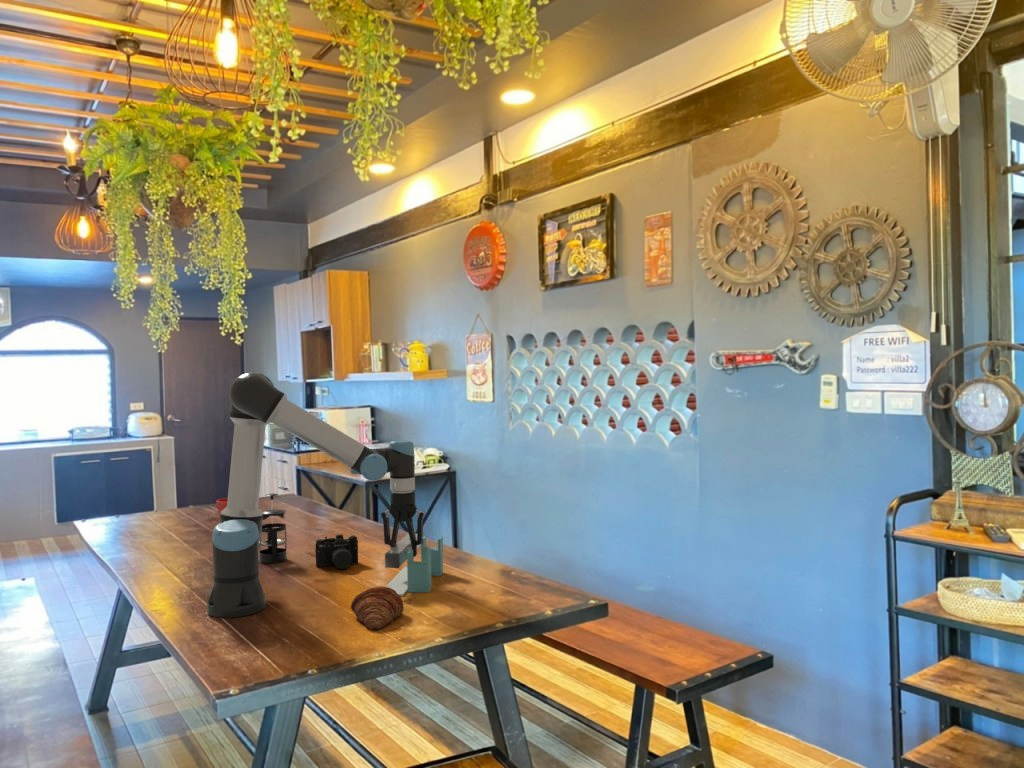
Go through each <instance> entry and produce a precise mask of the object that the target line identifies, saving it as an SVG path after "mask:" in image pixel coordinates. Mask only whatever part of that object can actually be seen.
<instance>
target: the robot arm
mask: <svg viewBox="0 0 1024 768" xmlns="http://www.w3.org/2000/svg"><path fill="white" fill-rule="evenodd" d="M229 400H230V409H229V410H230V411H229V419H230V420H231V421H232V423H233V424H234V426H233V427H234V429H233V437H232V438H233V439H232V450H231V459H230V460H231V461H230V469H229V470H230V471H229V479H228V480H229V481H228V489H227V490H228V492H227V498H228V501H227V507H226V508H225V509H223V510H222V511H221V515H220V516H219V523H218V524H216V525H215V526H214V528H213V530H212V536H211V542H212V557H213V558H212V565H213V566H212V572H213V573H212V575H213V584H212V588H211V590H210V593H209V597H208V600H207V602H206V603H207V604H206V615H208V616H210V617H214V618H221V619H222V618H226V619H227V618H230V619H231V618H240V617H245V616H249V615H253V614H256V613H259V612H262V611H263V610H264V609H265V608H266V607H267V598H266V594H265V592H264V589H263V587H262V584H261V582H260V577H259V576H260V575H259V573H260V572H259V569H260V568H259V566H260V565H259V545H260V543H261V542H262V540H263V532H262V531H261V530H262V525H263V520H262V518H263V512H262V511H263V510H261V509H260V508H259V503H260V502H259V501H260V491H261V481H262V480H261V479H262V469H263V461H264V460H263V458H264V449H265V438H266V427H267V425H269V424H273V425H275V426H277V427H279V428H281V429H282V430H284V431H286V432H288V433H289V434H291V435H293V436H294V437H296V438H298V439H300V440H301V441H303V442H305V443H307V444H308V445H310V446H312V447H313V448H316V449H317V450H318V451H320V452H321V453H323V454H326V456H328V457H331V458H332V459H334V460H336V461H337V462H339V463H341V464H342V465H344V466H345V467H348V468H349V471H350V473H351V475H360V476H362V477H363V478H365V479H366V480H368V481H373V482H376V481H379V480H381V479H383V478H384V476H386V474H387V473H389V481H390V482H389V485H390V487H389V489H390V491H391V492H390V507H389V509H388V510H384V511H383V512H381V513H380V515H381V518H382V520H383V523H382V524H383V538H384V539H383V540H384V545H388V546H390V549H391V548H392V547H393V546H394V545H396V544H397V542H398V534H399V531H400V525H401V522H404V523H405V525H406V527H407V532H408V533H409V537H410V541H411V546H410V547H409V551H410V550H413V561H415V557H417V555H418V551H417V550H418V549H417V545H420V544H421V543H422V542H423V537H424V518H425V515H426V512H425V510H419V509H418V508H417V506H416V492H415V490H416V481H415V480H416V478H415V477H416V476H415V475H416V474H415V473H416V472H415V470H416V469H415V457H416V455H415V449H414V448H415V446H414V443H413V441H411V440H392V441H390V442H389V445H388V447H385V448H369V447H367V446H366V445H365V444H363V443H361V442H359V441H358V440H356V439H354V438H352V437H351V436H349V435H347V434H346V433H344V432H343V431H341V430H339V429H337V428H336V427H335V426H332V425H331V424H329V423H328V422H326V421H324V420H323V419H321V418H319V417H317V416H315V415H314V414H312V413H311V412H309V411H308V410H306V409H304V408H302V407H301V406H299V405H297V404H295V403H293V401H290V400H289V399H288V397H287V394H286V393H285V392H282V391H281V390H280V389H278V388H276V387H275V385H274V383H273V382H272V380H271V379H270V378H269V377H268V376H266V375H265V374H262V373H260V372H247V373H243V374H241V375H239V376H238V377H236V378H235V379H234V380H233V382H232V383H231V385H230V388H229ZM415 515H416V518H417V521H416V524H417V526H416V527H417V529H416V530H417V531H416V532H415V528H414V522H413V518H414V516H415ZM390 517H392V518H393V520H394V521H393V528H392V531H391V528H390ZM391 532H392V533H391ZM415 533H417V541H416V536H415ZM260 546H261V545H260ZM420 546H421V545H420Z"/></svg>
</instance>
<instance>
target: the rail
mask: <svg viewBox="0 0 1024 768" xmlns="http://www.w3.org/2000/svg"><path fill="white" fill-rule="evenodd" d="M415 536H416V541H417V532H415ZM410 546H411V541H410V537H409V532H408V533H406V534H405V536H403V537H402V538H401V539H400V540H398V541H397V542H396V545H394V546H393V547H392V548H391V547H390V549H389V550H388V551H386V553H384V568H386V569H399V568H400V567H401V566H402V565H404V563H405V562H407V553H408V552H409V547H410ZM419 548H421V544H420V545H417V550H418V549H419Z"/></svg>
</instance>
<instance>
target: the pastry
mask: <svg viewBox="0 0 1024 768" xmlns="http://www.w3.org/2000/svg"><path fill="white" fill-rule="evenodd" d="M350 609H351V611H352V612H353V614H354V615H355V617H356V618H357V620H358V621H359V622H360V621H361V622H360V623H362V624H363V623H364V624H363V625H364V626H365V627H366V628H367V627H369V628H368V629H370V628H371V629H375V631H379V630H378V629H380V630H382V629H383V628H385V627H386V626H388V625H390V624H391V623H392V622H393V621H395V620H396V619H398V618H400V617H401V615H402V614H403V612H404V609H405V607H404V601H403V599H402V596H399V595H398V594H397V593H396V591H395V590H393V589H391V588H389V587H386V586H374V587H371V588H368V589H366V590H364V591H362V592H360V593H358V594H357V595H356V596H355V597H354V598H353V599H352V601H351V604H350ZM392 620H393V621H392ZM389 623H390V624H389ZM387 624H388V625H387ZM385 625H386V626H385ZM384 626H385V627H384ZM381 628H382V629H381ZM371 629H370V630H371Z"/></svg>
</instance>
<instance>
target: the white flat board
mask: <svg viewBox="0 0 1024 768" xmlns="http://www.w3.org/2000/svg"><path fill="white" fill-rule="evenodd" d="M385 587H389V588H391V589H393V590H395V591H396V593H397V594H398V595H399V596H400V597H404V596H405V594H406V593H408V577H407V566H403V568H402V569H401V570H400V571H399V572H398V573H397V574H396V575H395V576H394V578H392V579H391V580H390V582H389V583H387V585H385Z"/></svg>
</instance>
